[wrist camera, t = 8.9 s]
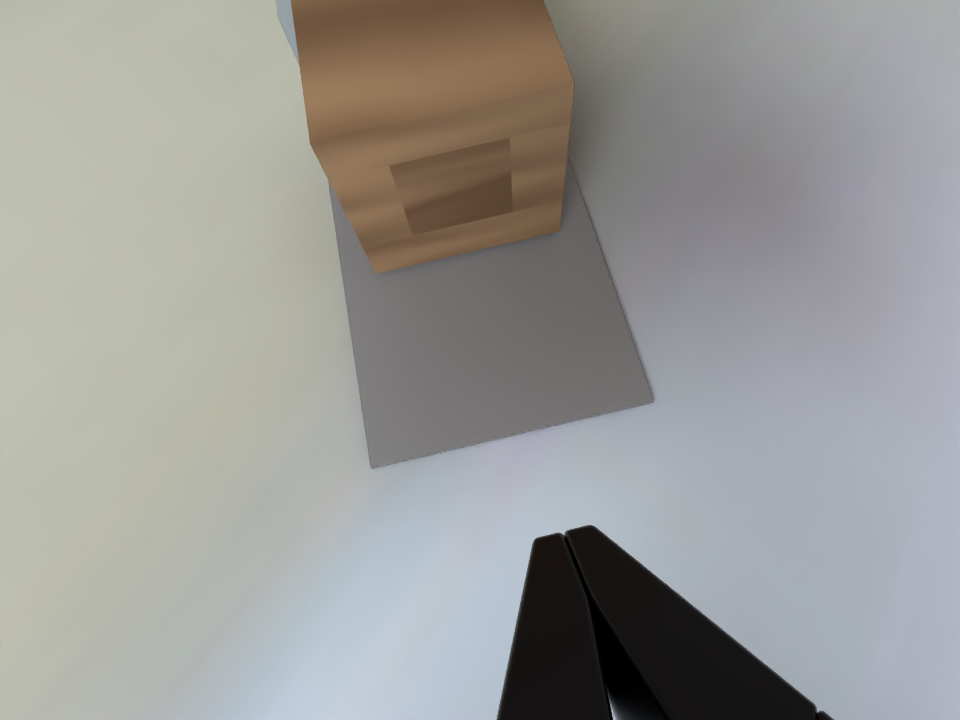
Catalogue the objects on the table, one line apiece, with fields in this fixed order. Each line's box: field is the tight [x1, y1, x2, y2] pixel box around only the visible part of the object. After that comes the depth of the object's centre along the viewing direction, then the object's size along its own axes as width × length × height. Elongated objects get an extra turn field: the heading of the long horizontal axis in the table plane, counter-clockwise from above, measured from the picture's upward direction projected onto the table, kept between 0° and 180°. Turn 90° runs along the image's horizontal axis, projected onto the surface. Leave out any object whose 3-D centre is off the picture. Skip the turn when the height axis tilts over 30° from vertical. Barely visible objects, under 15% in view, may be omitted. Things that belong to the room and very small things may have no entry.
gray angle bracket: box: [276, 0, 654, 469], centre depth 21 cm, size 18×11×6 cm, turn 13°
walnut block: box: [291, 0, 575, 274], centre depth 21 cm, size 8×8×8 cm
